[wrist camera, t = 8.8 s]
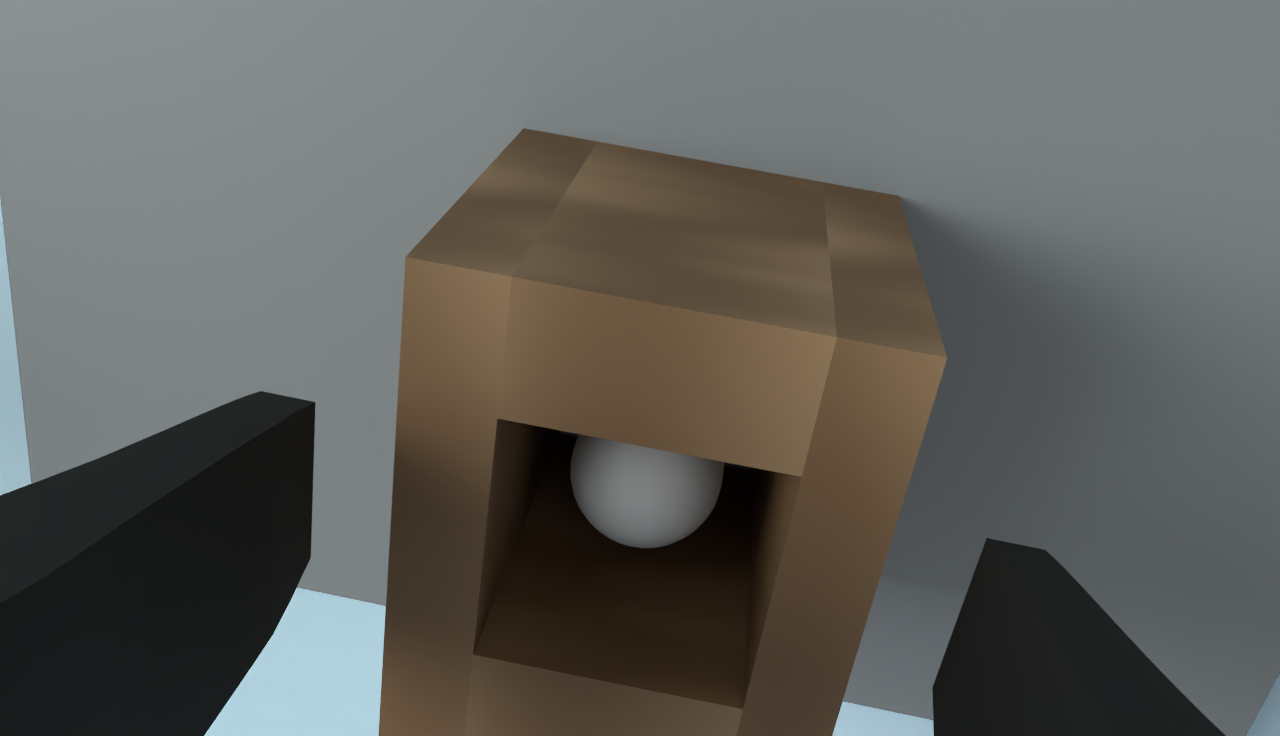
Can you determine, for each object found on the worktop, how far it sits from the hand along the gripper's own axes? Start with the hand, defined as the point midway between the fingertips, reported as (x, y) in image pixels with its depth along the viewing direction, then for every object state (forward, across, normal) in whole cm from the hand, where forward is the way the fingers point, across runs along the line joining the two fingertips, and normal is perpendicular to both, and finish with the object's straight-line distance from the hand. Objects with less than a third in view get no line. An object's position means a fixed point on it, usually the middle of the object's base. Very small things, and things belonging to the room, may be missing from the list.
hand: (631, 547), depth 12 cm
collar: (+5, 0, 0) cm, 5 cm away
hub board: (+6, 0, -2) cm, 6 cm away
